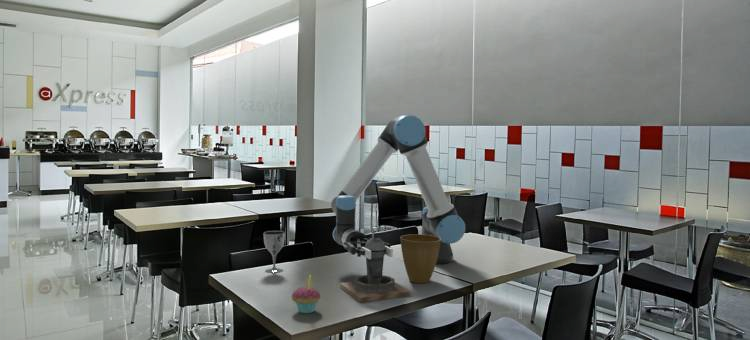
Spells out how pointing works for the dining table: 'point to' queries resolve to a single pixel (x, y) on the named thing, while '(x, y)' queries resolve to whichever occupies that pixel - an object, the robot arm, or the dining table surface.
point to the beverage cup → (375, 259)
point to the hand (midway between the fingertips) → (380, 253)
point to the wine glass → (274, 246)
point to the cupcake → (306, 298)
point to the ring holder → (374, 289)
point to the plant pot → (420, 256)
